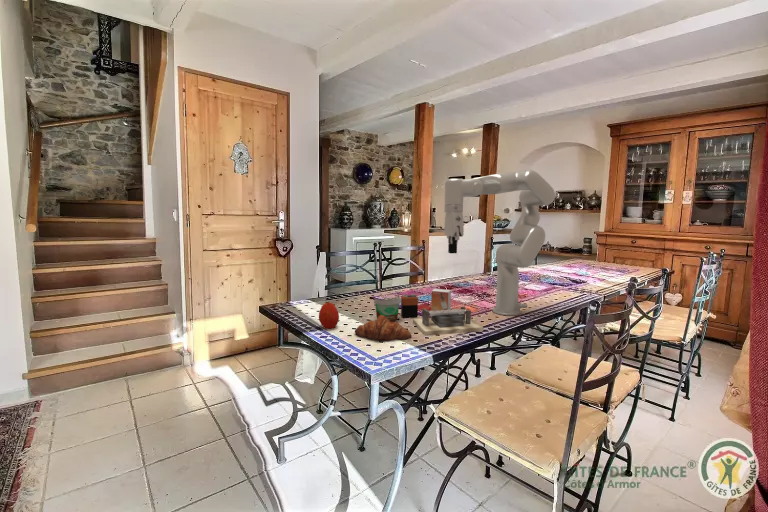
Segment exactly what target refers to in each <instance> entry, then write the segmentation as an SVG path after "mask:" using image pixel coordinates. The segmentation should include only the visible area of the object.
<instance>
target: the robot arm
mask: <svg viewBox="0 0 768 512" xmlns="http://www.w3.org/2000/svg"><path fill="white" fill-rule="evenodd" d="M518 191H520V193H519V194H518V195H519V196H518V198H519V202H520V207H521V214H520V216H519V218H518V219H517V220H516V223H515V224H514V226H513V228H512V230H511V232H510V234H509V240H510V242H511V243H503V244H502V245H500V246H498V248H497V249H496V251H495V259H496V267H497V272H496V274H497V275H496V277H497V278H496V294H495V298H496V299H495V306H493V307H492V312H493V313H494V314H497V315H502V316H509V317H511V316H512V317H513V316H519V315H521V314H522V310H521V309H525V308H528V304H527V303H521V302H518V301H519V287H520V286H519V283H520V272H519V269H518V268H522V269H524V268H525V269H526V268H529V267H530V266H531V265H532V264H533V262H534V261H535V259H536V257H537V256H538V254H539V252H540V250H541V249H542V247H543V246H544V243H545V240H546V231H545V229H544V228H543V227H542V226H541V225H538V224H539V223H540V220H541V214H540V210H539V208H538V206H540V207H541V206H549V205H550V204H552V203H553V202H554V200H555V198H556V192H555V190H554V188H553V187H552V185H551V184H549V182H548V181H546V180H545V178H544V177H542V175H540V174H539V173H538V172H536V171H535V170H532V169H526V170H517V171H510V172H502V173H494V174H489V175H485V176H480V177H474V178H465V179H462V178H448V179H446V180H445V182H444V211H443V213H445V216H444V226H443V227H444V232H443V233H444V235H445V237H446V238H447V243H448V244H447V245H448V247H447V248H448V251H447V253H449V254H458V244H459V243H458V242H459V241H460V238H461V237H463V236H464V235H465V233H464V232H465V231H464V230H465V229H464V226H465V225H464V215H463V212H464V198H474V197H479V196H480V195H498V194H506V193H510V192H511V193H512V192H518ZM512 243H513V244H512Z"/></svg>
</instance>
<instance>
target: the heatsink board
mask: <svg viewBox="0 0 768 512" xmlns="http://www.w3.org/2000/svg"><path fill="white" fill-rule="evenodd" d="M460 309H466V306H460ZM429 311H430V310H428V309H427V308H422V311H421V312H422V313H421V314H422V315H421V316H422V318H413V319H412V323H413V324H414V326H416V327H417V329H418V330H420V332H421V333H422V334H423V335H424V336H434V335H444V334H445V335H446V334H461V333H462V332H463V333H475V332H483V331H484V328H485V327H484V326H482V325H481V324H479V323H478V322H477V321H474V320H473V319H472V310H470V309H466V314H453V315H439V316H429Z"/></svg>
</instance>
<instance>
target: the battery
mask: <svg viewBox="0 0 768 512" xmlns="http://www.w3.org/2000/svg"><path fill="white" fill-rule="evenodd" d="M400 299H401V302H400V315H401V317H402V318H404V319H407V318H408V319H410V318H418V316H419V315H418V309H419V298H418V296H417V295H416V293H411V294H409V295H408V294H403V295H401V296H400Z"/></svg>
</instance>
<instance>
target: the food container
mask: <svg viewBox="0 0 768 512" xmlns="http://www.w3.org/2000/svg"><path fill="white" fill-rule="evenodd" d="M373 304H374V305H375V315H376V319H377V318H378V317H379V316H380V315H383V316H385V317H386V318H387V319H388V320H389V321H390V322H398V319H399V311H400V310H399V309H400V304H401V296H400V295H397V296H396V297H385V298H381V299H379V298H376V297H375V298H374V301H373Z"/></svg>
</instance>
